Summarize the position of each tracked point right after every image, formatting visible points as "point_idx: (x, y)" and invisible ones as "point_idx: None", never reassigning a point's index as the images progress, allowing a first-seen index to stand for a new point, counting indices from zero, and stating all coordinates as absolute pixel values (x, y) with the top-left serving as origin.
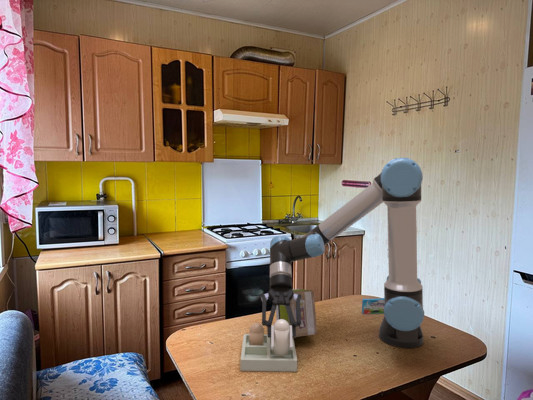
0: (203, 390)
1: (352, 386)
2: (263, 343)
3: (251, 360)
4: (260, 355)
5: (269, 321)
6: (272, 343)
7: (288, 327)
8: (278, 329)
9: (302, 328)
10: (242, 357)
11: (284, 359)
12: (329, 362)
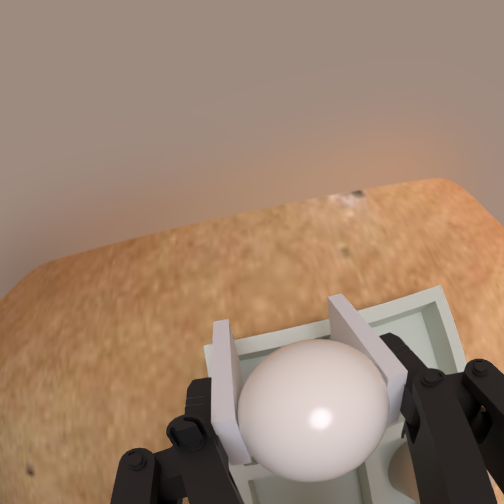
0: (449, 192)
1: (51, 297)
2: (396, 476)
3: (404, 297)
4: None
5: (438, 390)
6: (341, 303)
7: (243, 390)
8: (330, 340)
9: None
10: (442, 302)
11: (265, 342)
12: (95, 433)
